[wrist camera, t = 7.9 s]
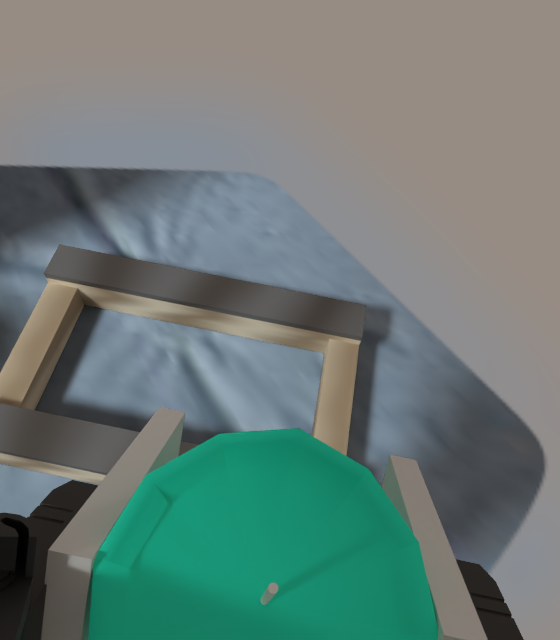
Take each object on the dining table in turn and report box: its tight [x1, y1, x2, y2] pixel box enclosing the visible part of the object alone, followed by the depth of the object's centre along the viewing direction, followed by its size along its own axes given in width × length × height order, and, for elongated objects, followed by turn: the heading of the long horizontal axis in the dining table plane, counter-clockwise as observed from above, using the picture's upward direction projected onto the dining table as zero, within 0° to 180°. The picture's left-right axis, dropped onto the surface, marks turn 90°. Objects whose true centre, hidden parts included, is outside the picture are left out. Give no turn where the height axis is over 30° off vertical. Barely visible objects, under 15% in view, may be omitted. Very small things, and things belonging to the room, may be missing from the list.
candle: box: [88, 428, 438, 640], centre depth 13 cm, size 6×6×12 cm
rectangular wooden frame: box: [0, 244, 366, 484], centre depth 33 cm, size 21×14×3 cm, turn 80°
